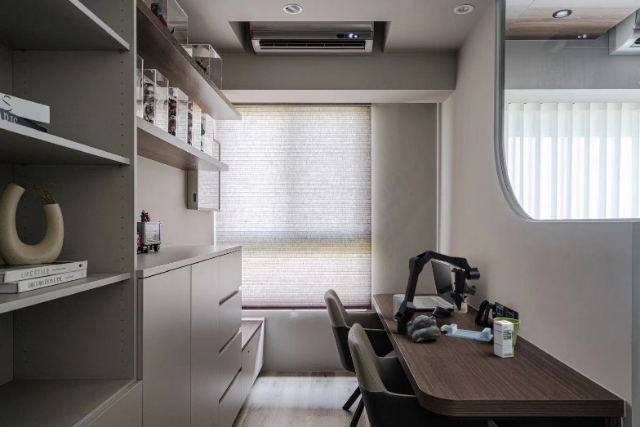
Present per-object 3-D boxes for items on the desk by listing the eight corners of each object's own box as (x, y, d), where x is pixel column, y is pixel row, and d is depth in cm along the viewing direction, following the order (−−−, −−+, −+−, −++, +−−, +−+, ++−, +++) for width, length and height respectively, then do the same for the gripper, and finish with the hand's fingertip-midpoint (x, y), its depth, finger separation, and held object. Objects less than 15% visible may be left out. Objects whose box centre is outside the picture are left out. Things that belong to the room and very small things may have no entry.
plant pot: (524, 348, 192) (523, 323, 192) (496, 347, 194) (496, 322, 194) (517, 341, 203) (517, 318, 204) (491, 340, 206) (491, 316, 206)
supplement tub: (413, 320, 245) (413, 295, 245) (403, 323, 239) (403, 297, 239) (399, 318, 252) (399, 293, 252) (389, 320, 246) (389, 295, 246)
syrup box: (502, 358, 178) (502, 323, 179) (493, 353, 184) (493, 320, 184) (514, 357, 180) (514, 322, 180) (504, 352, 186) (504, 319, 186)
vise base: (489, 341, 203) (489, 333, 203) (445, 335, 214) (445, 327, 214) (493, 335, 213) (493, 327, 213) (450, 330, 224) (450, 322, 224)
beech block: (465, 313, 222) (465, 303, 222) (453, 311, 225) (453, 302, 225) (467, 311, 226) (467, 302, 226) (455, 310, 229) (455, 301, 229)
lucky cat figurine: (409, 343, 200) (402, 314, 207) (414, 346, 210) (408, 319, 216) (440, 336, 195) (433, 307, 202) (444, 340, 205) (437, 312, 212)
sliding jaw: (452, 334, 213) (452, 327, 213) (440, 333, 216) (440, 326, 216) (456, 330, 221) (456, 324, 221) (445, 329, 224) (445, 322, 224)
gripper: (472, 283, 214) (472, 314, 213) (479, 279, 230) (479, 308, 229) (450, 282, 219) (450, 312, 219) (458, 278, 235) (458, 306, 235)
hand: (460, 309), depth 226 cm, fingers closed on beech block, 4 cm apart
